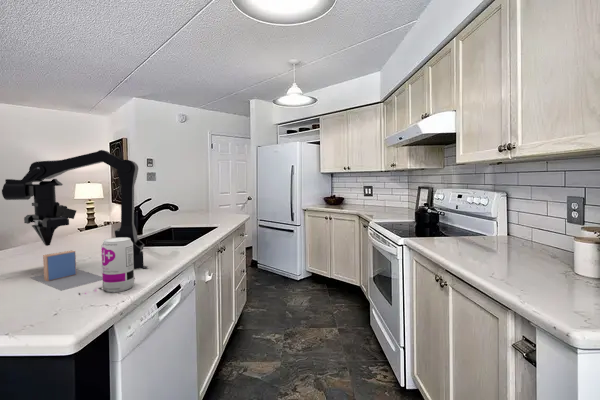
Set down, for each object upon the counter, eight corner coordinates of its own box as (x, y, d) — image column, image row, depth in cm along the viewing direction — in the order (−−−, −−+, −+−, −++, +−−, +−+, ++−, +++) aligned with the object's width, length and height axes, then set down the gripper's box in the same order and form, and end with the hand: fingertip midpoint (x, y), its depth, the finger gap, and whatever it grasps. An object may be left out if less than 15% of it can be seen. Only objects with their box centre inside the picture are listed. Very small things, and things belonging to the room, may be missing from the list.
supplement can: (112, 295, 90) (110, 243, 89) (97, 289, 95) (95, 240, 94) (139, 286, 97) (138, 238, 96) (124, 282, 102) (123, 236, 101)
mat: (108, 281, 102) (107, 278, 102) (61, 293, 91) (61, 290, 91) (74, 270, 113) (74, 268, 113) (29, 280, 102) (29, 277, 102)
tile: (76, 274, 105) (75, 251, 105) (48, 281, 98) (46, 256, 98) (72, 273, 107) (71, 250, 106) (44, 279, 100) (43, 255, 99)
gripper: (85, 199, 108) (87, 244, 109) (60, 197, 117) (62, 238, 118) (46, 201, 98) (48, 250, 99) (22, 199, 108) (25, 244, 109)
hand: (47, 245), depth 107 cm, fingers closed
